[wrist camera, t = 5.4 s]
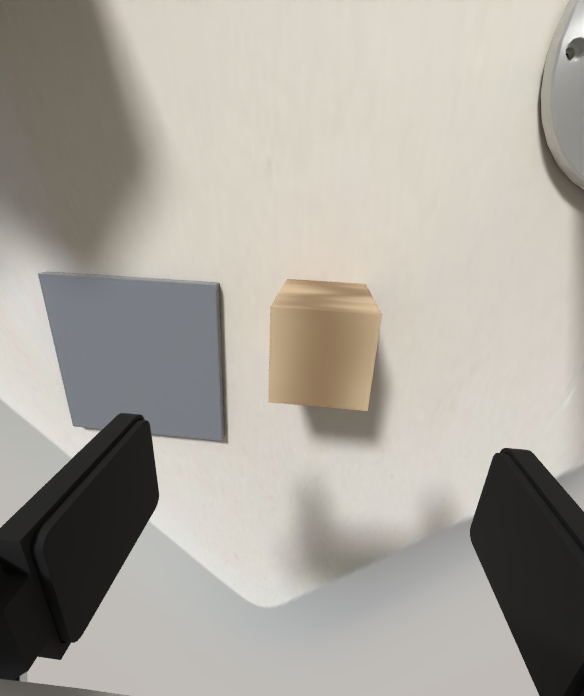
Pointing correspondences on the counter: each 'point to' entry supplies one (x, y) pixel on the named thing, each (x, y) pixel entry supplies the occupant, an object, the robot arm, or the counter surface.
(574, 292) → the counter surface
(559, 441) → the counter surface
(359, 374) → the oak block
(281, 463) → the counter surface
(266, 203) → the counter surface
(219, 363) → the slate tile
